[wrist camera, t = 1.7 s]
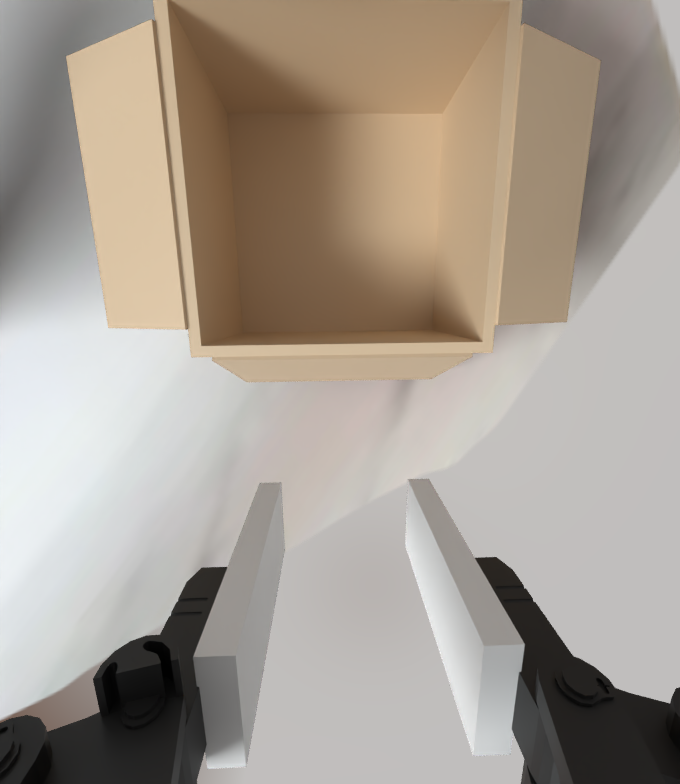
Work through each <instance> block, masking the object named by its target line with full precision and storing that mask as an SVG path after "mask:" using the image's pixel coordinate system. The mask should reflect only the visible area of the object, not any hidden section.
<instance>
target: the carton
mask: <svg viewBox="0 0 680 784" xmlns="http://www.w3.org/2000/svg"><path fill="white" fill-rule="evenodd" d="M153 5H154V14H155V21H153V20H152V19H150V20H148V21H146V22H144V23H141V24H139V25H137V26H134V27H132V28H130V29H128V30H125V31H123V32H121V33H118V34H116V35H114V36H111V37H109V38H107V39H105V40H102V41H100V42H98V43H95V44H93V45H91V46H88V47H86V48H84V49H82V50H79V51H77V52H75V53H72V54H70V55H68V56H66V60H67V67H68V73H69V79H70V86H71V92H72V99H73V105H74V111H75V118H76V124H77V130H78V137H79V143H80V150H81V156H82V162H83V169H84V175H85V181H86V188H87V194H88V201H89V207H90V213H91V220H92V226H93V232H94V239H95V245H96V252H97V258H98V264H99V271H100V277H101V283H102V290H103V296H104V303H105V309H106V315H107V322H108V328H137V329H188V333H189V342H190V351H191V357H212V361H214V362H215V363H217V364H219V365H220V366H222V367H223V368H225V369H227V370H228V371H230V372H231V373H233V374H235V375H236V376H238V377H239V378H241V379H243V380H244V381H246V382H287V381H344V380H400V379H432V378H434V377H436V376H438V375H439V374H441V373H443V372H445V371H447V370H449V369H450V368H452V367H454V366H456V365H458V364H460V363H461V362H463V361H465V360H467V359H469V358H471V357H472V353H493V341H494V330H495V325H514V324H534V323H554V322H567V316H568V308H569V301H570V293H571V286H572V278H573V270H574V263H575V255H576V247H577V240H578V232H579V224H580V217H581V209H582V202H583V194H584V186H585V179H586V171H587V163H588V156H589V148H590V141H591V133H592V125H593V118H594V110H595V102H596V95H597V87H598V80H599V72H600V64H601V60H599V59H597V58H595V57H593V56H591V55H589V54H587V53H585V52H583V51H581V50H578V49H576V48H574V47H572V46H570V45H568V44H566V43H564V42H562V41H560V40H558V39H556V38H554V37H552V36H550V35H548V34H546V33H544V32H542V31H540V30H538V29H536V28H534V27H532V26H529V25H527V24H525V23H524V24H522V25H521V16H522V5H523V0H153Z"/></svg>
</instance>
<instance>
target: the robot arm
mask: <svg viewBox="0 0 680 784" xmlns="http://www.w3.org/2000/svg"><path fill="white" fill-rule="evenodd" d="M406 518H407V519H406V544H405V546H406V549H407V552H408V555H409V558H410V562H411V565H412V568H413V571H414V574H415V577H416V580H417V583H418V586H419V589H420V593H421V596H422V599H423V602H424V605H425V608H426V611H427V614H428V617H429V621H430V624H431V627H432V630H433V633H434V636H435V639H436V642H437V645H438V648H439V652H440V655H441V658H442V661H443V664H444V667H445V670H446V673H447V676H448V679H449V683H450V685H451V689H452V692H453V695H454V698H455V701H456V704H457V707H458V710H459V714H460V717H461V720H462V723H463V726H464V729H465V732H466V735H467V739H468V742H469V745H470V748H471V751H472V754H473V756H485V755H486V756H487V755H507V754H511V746H512V738H513V733H514V736H515V738H516V740H517V742H518V745H519V747H520V749H521V752H522V754H523V756H524V759H525V760H524V766H523V774H522V781H521V784H680V688H676V689H675V692H674V694H673V696H672V699H671V703H670V704H669V703H665V702H662V701H658V700H654V699H650V698H646V697H642V696H639V695H635V694H631V693H628V692H625V691H622V690H619V689H616V688H615V687H614V686H613V685H612V683H611V682H610V680H609V679H608V678H607V677H605V676H604V675H603V674H602V673H601V672H600V671H599V670H597V669H596V668H595V667H594V666H592V665H590V664H588V663H586V662H585V661H583V660H581V659H579V658H576V657H574V656H573V655H572V654H571V653H570V651H569V650H568V649H567V647H566V645H565V644H564V643H563V641H562V640H561V638H560V637H559V636H558V635H557V633H556V631H555V630H554V628H553V627H552V625H551V624H550V622H549V621H548V620H547V618H546V617H545V615H544V614H543V612H542V611H541V610H540V608H539V607H538V605H537V604H536V603H535V602H533V598H532V597H531V595H530V594H529V592H528V591H527V590H526V589H524V586H523V584H522V582H521V581H520V580H519V578H518V577H517V576H516V574H515V572H514V571H513V570H512V569H511V568H509V567H508V566H507V565H506V564H505V563H503V562H502V561H501V560H499V559H498V558H497V557H485V558H474V556H473V554H472V552H471V551H470V549H469V547H468V546H467V544H466V542H465V540H464V539H463V537H462V535H461V534H460V532H459V530H458V528H457V527H456V525H455V523H454V522H453V520H452V518H451V516H450V515H449V513H448V511H447V510H446V508H445V506H444V504H443V503H442V501H441V499H440V498H439V496H438V494H437V492H436V491H435V489H434V487H433V485H432V484H431V482H430V480H429V479H408V489H407V515H406ZM284 551H285V543H284V524H283V506H282V487H281V483H260V484H259V487H258V489H257V492H256V494H255V497H254V500H253V502H252V505H251V507H250V510H249V513H248V515H247V518H246V520H245V523H244V526H243V528H242V531H241V533H240V536H239V539H238V541H237V544H236V546H235V549H234V552H233V554H232V557H231V559H230V562H229V565H228V567H211V568H201V569H200V570H199V571H198V572H197V573H196V574H195V575H194V576H193V577H192V578H191V579H190V580H189V581H187V583H186V585H185V587H184V589H183V591H182V593H181V595H180V597H179V599H178V602H177V603H176V604H175V606H174V608H173V610H172V612H171V616H169V618H168V620H167V622H166V624H165V626H164V628H163V630H162V632H161V634H160V635H150V636H144V637H141V638H138V639H136V640H133V641H130V642H129V643H127V644H126V645H124V646H122V647H121V648H119V649H118V650H116V651H115V652H114V653H113V654H112V655H111V656H110V657H109V658H108V659H107V660H106V661H105V662H104V663H103V664H102V665H101V666H100V668H99V670H98V671H97V673H96V675H95V676H94V678H93V681H94V686H95V691H96V695H97V700H98V705H99V709H100V712H99V713H97V714H94V715H92V716H90V717H88V718H85V719H82V720H80V721H77V722H74V723H71V724H68V725H66V726H63V727H60V728H57V729H54V730H51V731H49V732H47V730H46V727H45V725H44V724H43V722H42V721H41V719H40V718H38V717H33V716H28V715H25V716H21V717H16V718H11V719H9V720H6V721H4V722H2V723H0V784H197V777H198V774H199V770H200V767H201V763H202V760H203V756H204V752H205V753H206V761H207V768H208V769H212V768H234V767H246V766H247V760H248V755H249V749H250V744H251V738H252V732H253V727H254V721H255V715H256V710H257V704H258V698H259V693H260V687H261V681H262V675H263V670H264V664H265V659H266V653H267V647H268V642H269V636H270V630H271V625H272V619H273V613H274V608H275V602H276V597H277V591H278V585H279V580H280V574H281V568H282V563H283V557H284Z"/></svg>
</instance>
